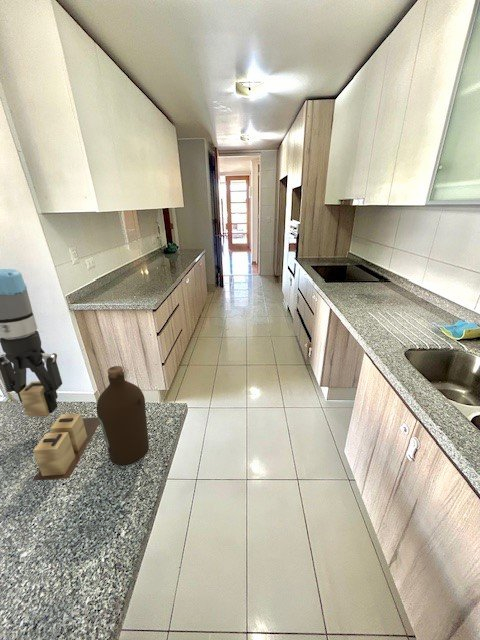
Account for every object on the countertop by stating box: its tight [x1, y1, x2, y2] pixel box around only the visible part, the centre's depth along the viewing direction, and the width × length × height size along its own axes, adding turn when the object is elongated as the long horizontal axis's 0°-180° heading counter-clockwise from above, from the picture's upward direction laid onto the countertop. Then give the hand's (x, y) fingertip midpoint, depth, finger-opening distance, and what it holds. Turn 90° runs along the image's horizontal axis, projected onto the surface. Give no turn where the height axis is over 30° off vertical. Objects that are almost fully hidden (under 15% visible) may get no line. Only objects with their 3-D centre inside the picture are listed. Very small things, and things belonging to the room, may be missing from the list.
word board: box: [32, 416, 100, 482], centre depth 69 cm, size 8×20×1 cm, turn 6°
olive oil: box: [96, 365, 150, 467], centre depth 63 cm, size 11×11×25 cm
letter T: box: [32, 432, 75, 476], centre depth 61 cm, size 5×5×8 cm
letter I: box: [49, 413, 87, 452], centre depth 67 cm, size 5×5×8 cm
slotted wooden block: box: [19, 380, 58, 418], centre depth 71 cm, size 5×5×8 cm
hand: (42, 409), depth 72 cm, fingers closed on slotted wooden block, 5 cm apart
